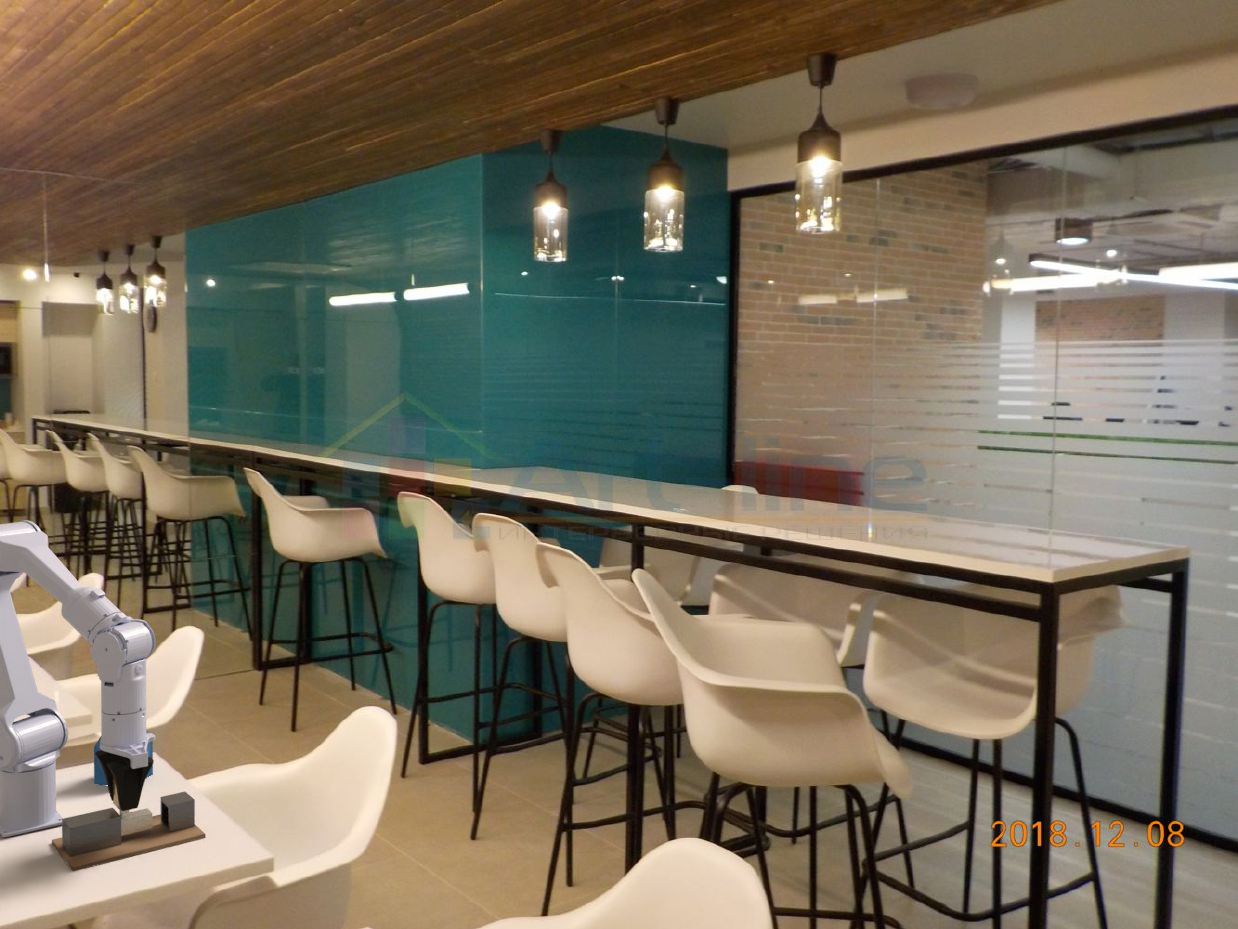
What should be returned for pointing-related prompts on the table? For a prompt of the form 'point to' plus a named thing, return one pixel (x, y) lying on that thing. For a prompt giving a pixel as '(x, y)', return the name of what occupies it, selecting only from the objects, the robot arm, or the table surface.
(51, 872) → the table surface
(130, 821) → the pale bar
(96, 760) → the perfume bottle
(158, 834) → the walnut board
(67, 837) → the sleeve and socket
